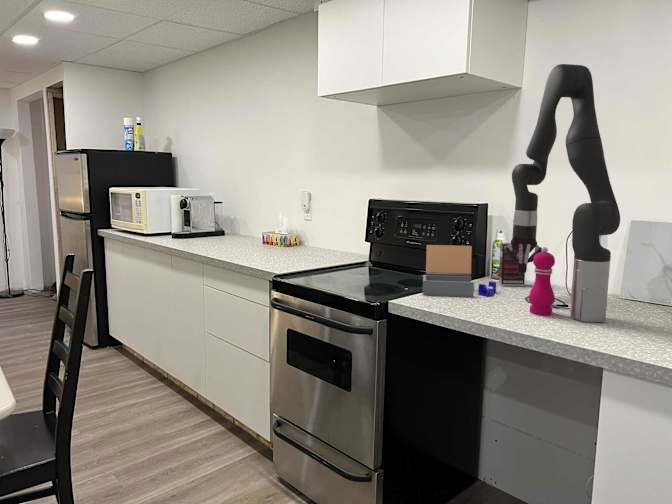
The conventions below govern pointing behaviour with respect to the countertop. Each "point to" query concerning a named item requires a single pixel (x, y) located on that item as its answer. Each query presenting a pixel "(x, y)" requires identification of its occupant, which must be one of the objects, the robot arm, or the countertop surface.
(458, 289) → the grey open box
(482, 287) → the cable holder
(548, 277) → the pepper mill
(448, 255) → the cover
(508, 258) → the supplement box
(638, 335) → the countertop surface
